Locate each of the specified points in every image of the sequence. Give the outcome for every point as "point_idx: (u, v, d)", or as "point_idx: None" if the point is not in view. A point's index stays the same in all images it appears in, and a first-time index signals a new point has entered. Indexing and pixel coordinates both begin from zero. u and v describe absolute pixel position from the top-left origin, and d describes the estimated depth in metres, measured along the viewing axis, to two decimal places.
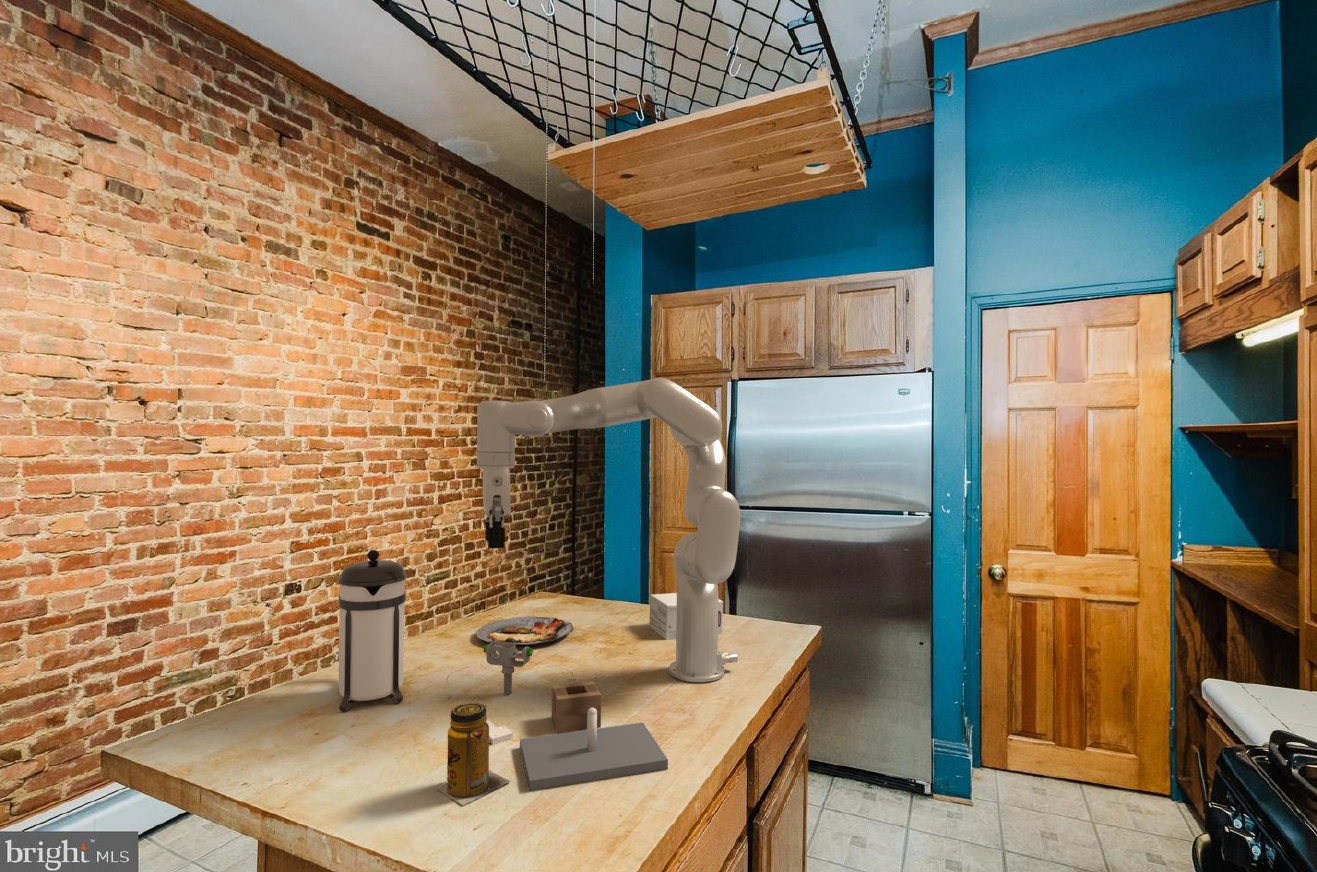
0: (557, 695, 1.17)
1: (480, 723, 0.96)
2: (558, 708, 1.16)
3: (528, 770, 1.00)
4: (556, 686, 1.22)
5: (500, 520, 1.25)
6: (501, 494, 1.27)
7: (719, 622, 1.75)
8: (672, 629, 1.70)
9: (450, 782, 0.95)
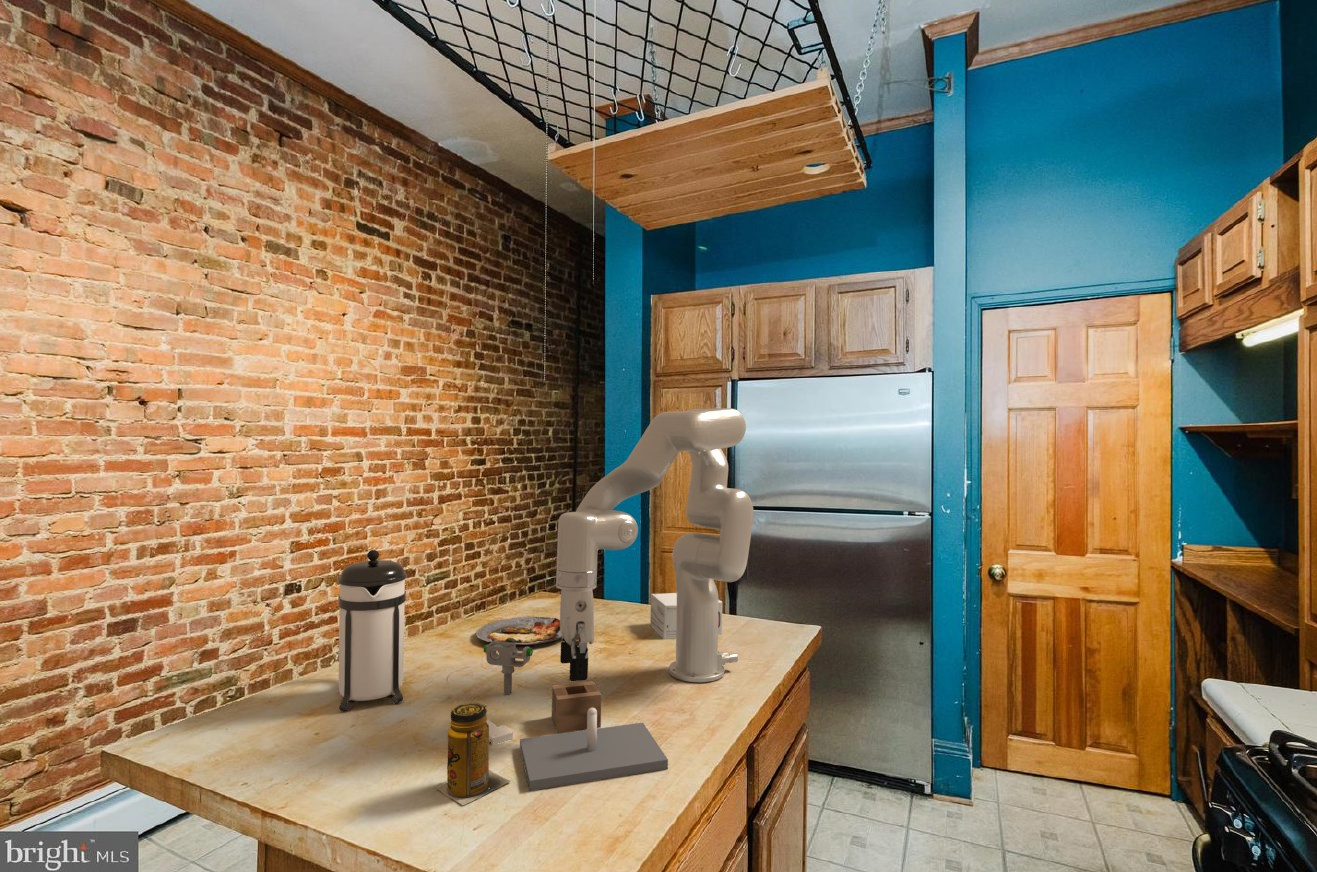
0: (557, 695, 1.17)
1: (480, 723, 0.96)
2: (558, 708, 1.16)
3: (528, 770, 1.00)
4: (556, 686, 1.22)
5: (585, 652, 1.13)
6: (585, 620, 1.15)
7: (718, 623, 1.74)
8: (670, 629, 1.70)
9: (450, 782, 0.95)
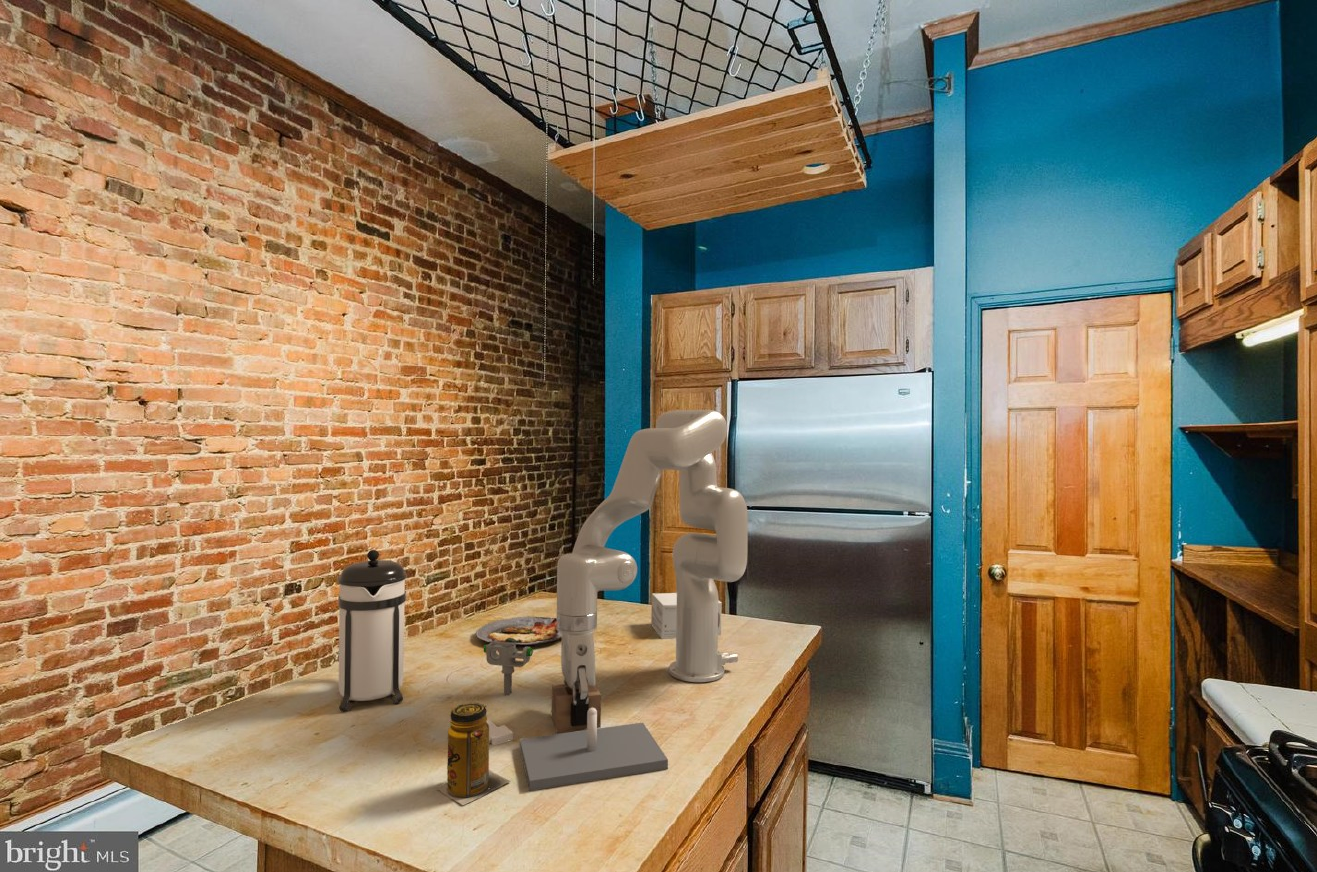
0: (557, 695, 1.17)
1: (480, 723, 0.96)
2: (558, 708, 1.16)
3: (528, 770, 1.00)
4: (556, 686, 1.22)
5: (585, 698, 1.14)
6: (586, 664, 1.15)
7: None
8: (668, 629, 1.70)
9: (450, 782, 0.95)
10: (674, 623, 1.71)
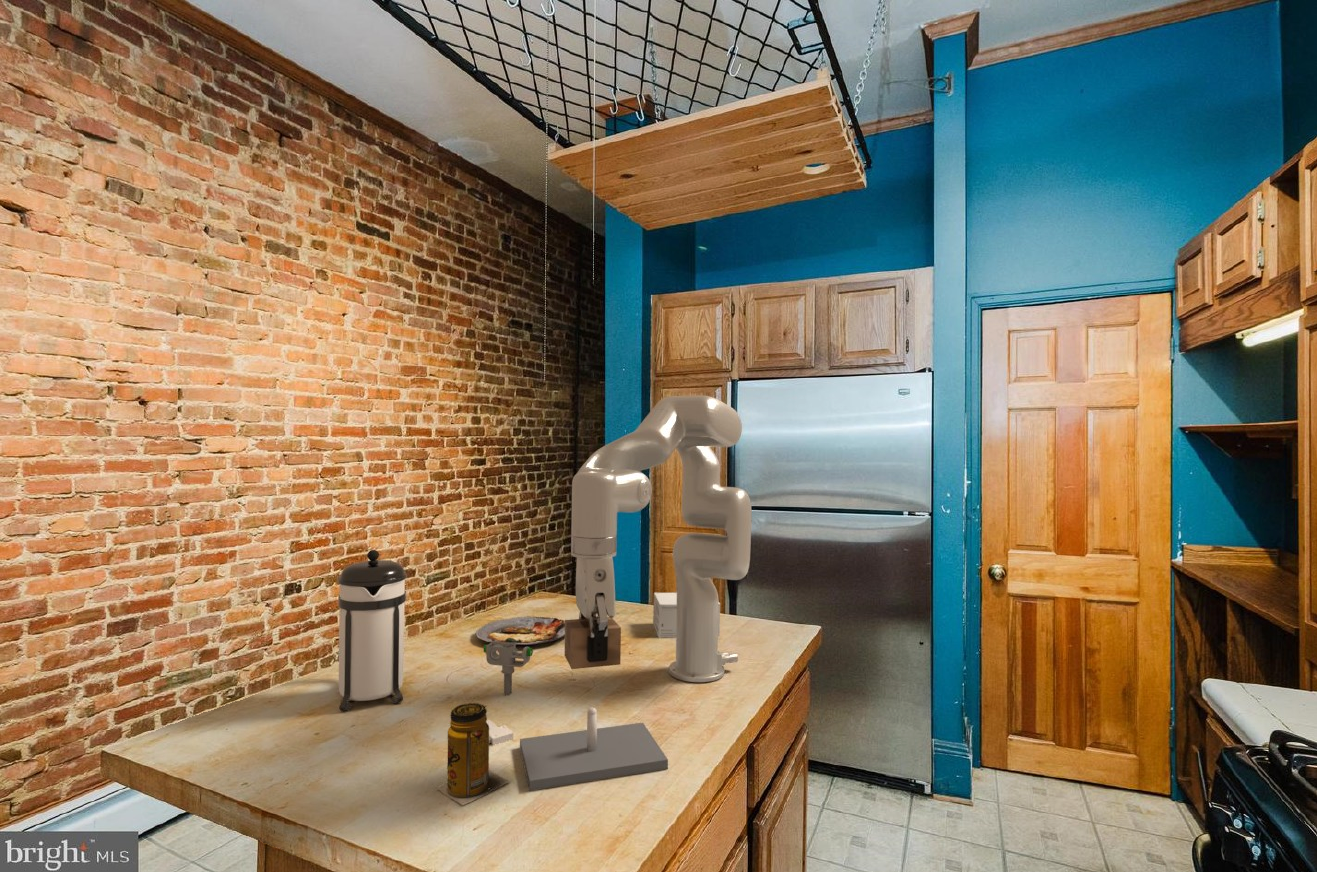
0: (571, 628, 1.04)
1: (480, 723, 0.96)
2: (573, 641, 1.02)
3: (528, 770, 1.00)
4: (570, 620, 1.08)
5: (604, 629, 1.01)
6: (605, 591, 1.02)
7: None
8: (665, 628, 1.71)
9: (450, 782, 0.95)
10: (671, 623, 1.71)
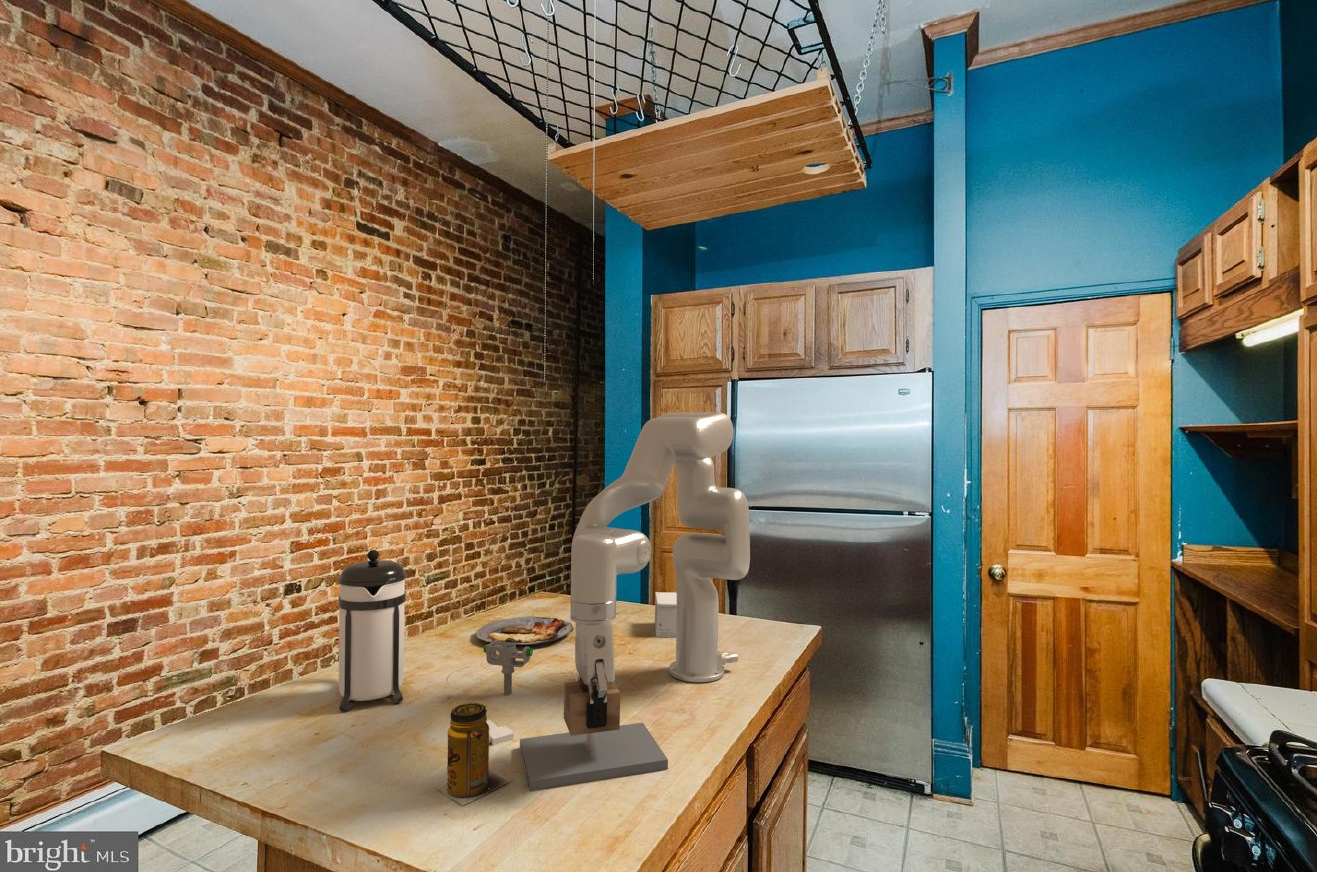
0: (571, 693, 1.04)
1: (480, 723, 0.96)
2: (572, 708, 1.02)
3: (528, 770, 1.00)
4: (569, 683, 1.08)
5: (604, 696, 1.01)
6: (604, 657, 1.02)
7: None
8: (663, 627, 1.71)
9: (450, 782, 0.95)
10: (669, 622, 1.71)
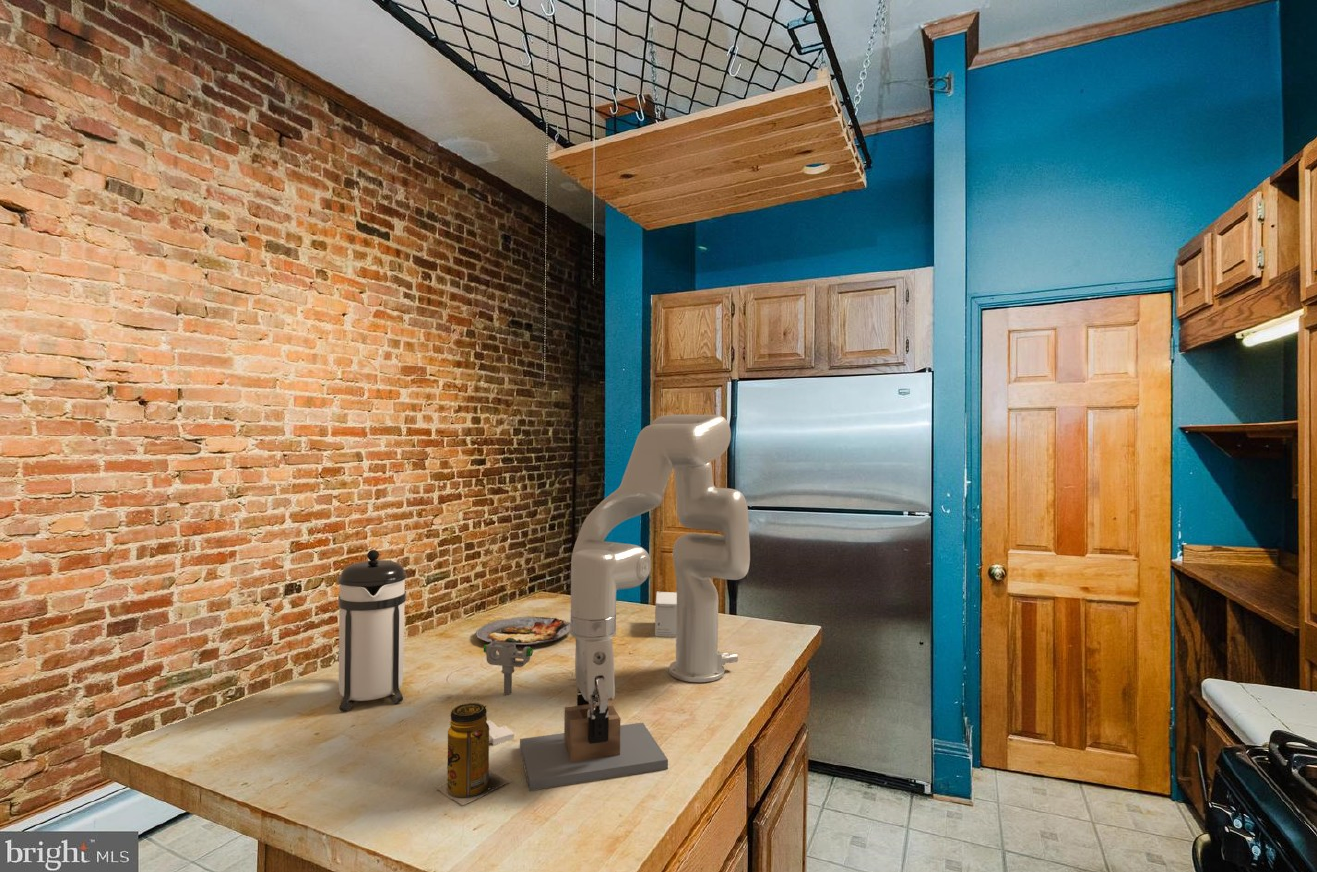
0: (571, 719, 1.04)
1: (480, 723, 0.96)
2: (572, 734, 1.02)
3: (528, 770, 1.00)
4: (570, 707, 1.08)
5: (605, 711, 1.00)
6: (604, 674, 1.02)
7: None
8: (662, 627, 1.72)
9: (450, 782, 0.95)
10: (667, 622, 1.72)
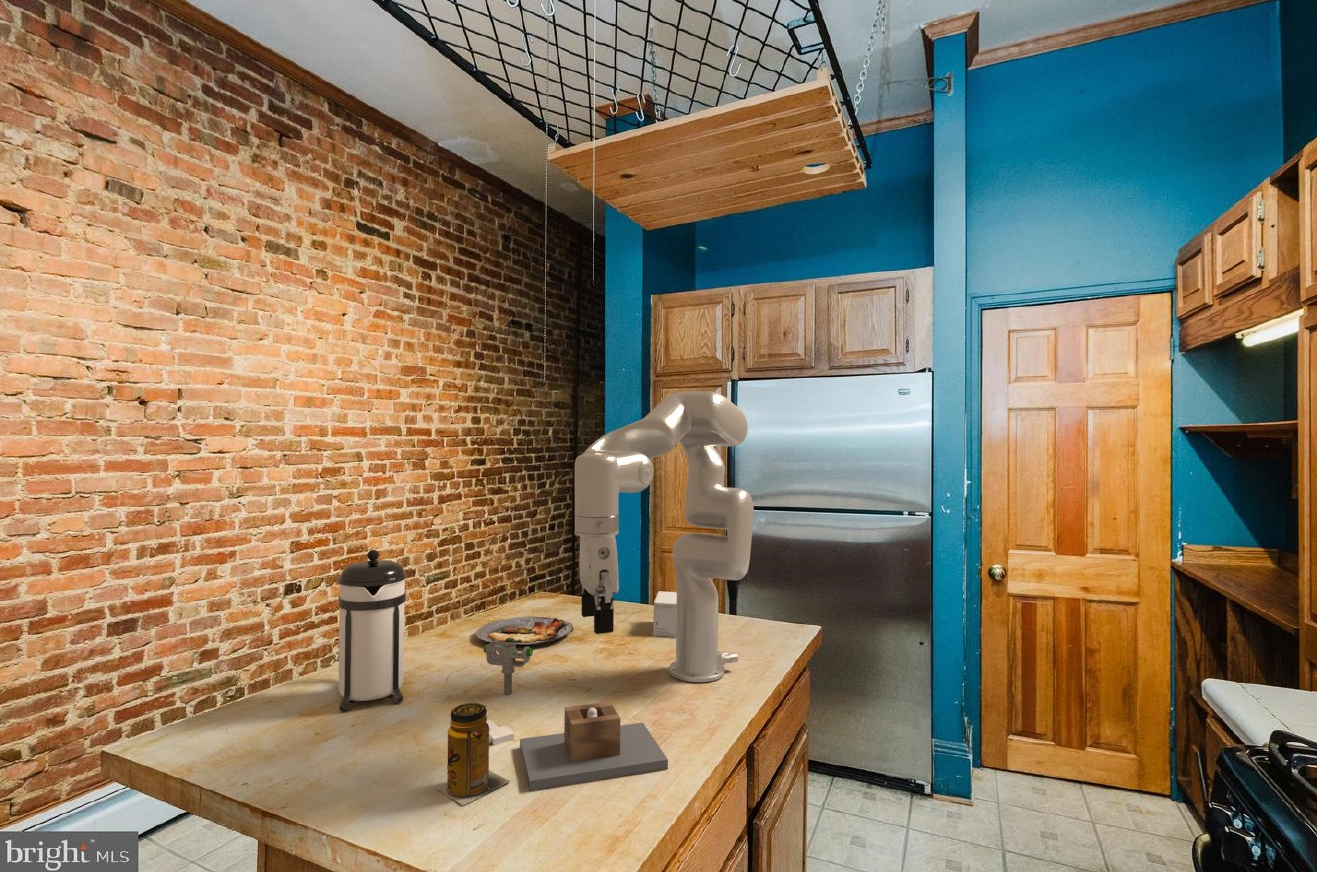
0: (571, 719, 1.04)
1: (480, 723, 0.96)
2: (572, 734, 1.02)
3: (528, 770, 1.00)
4: (570, 707, 1.08)
5: (610, 601, 1.04)
6: (608, 568, 1.06)
7: None
8: (660, 626, 1.72)
9: (450, 782, 0.95)
10: (665, 621, 1.72)
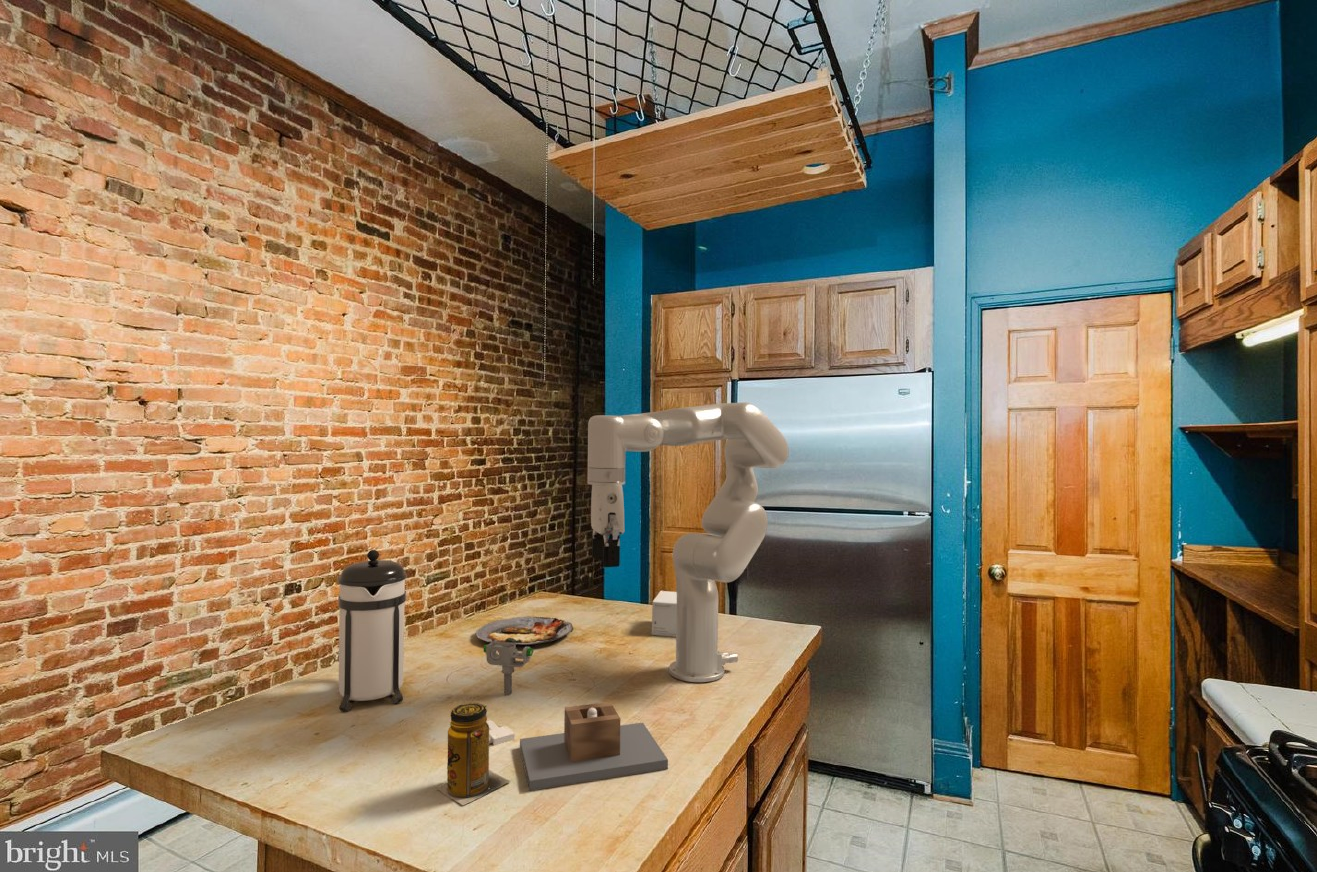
0: (571, 719, 1.04)
1: (480, 723, 0.96)
2: (572, 734, 1.02)
3: (528, 770, 1.00)
4: (570, 707, 1.08)
5: (617, 538, 1.22)
6: (616, 511, 1.24)
7: None
8: (658, 625, 1.73)
9: (450, 782, 0.95)
10: (664, 621, 1.72)
